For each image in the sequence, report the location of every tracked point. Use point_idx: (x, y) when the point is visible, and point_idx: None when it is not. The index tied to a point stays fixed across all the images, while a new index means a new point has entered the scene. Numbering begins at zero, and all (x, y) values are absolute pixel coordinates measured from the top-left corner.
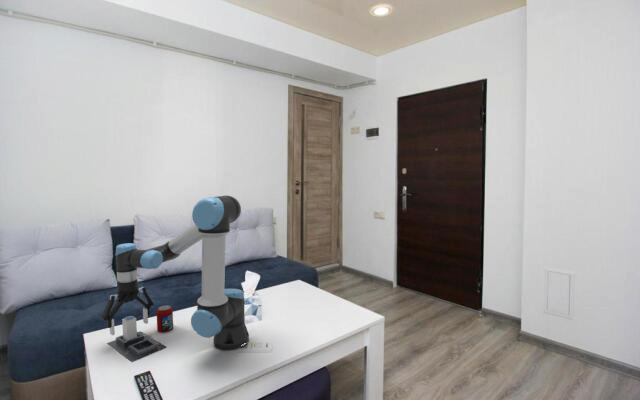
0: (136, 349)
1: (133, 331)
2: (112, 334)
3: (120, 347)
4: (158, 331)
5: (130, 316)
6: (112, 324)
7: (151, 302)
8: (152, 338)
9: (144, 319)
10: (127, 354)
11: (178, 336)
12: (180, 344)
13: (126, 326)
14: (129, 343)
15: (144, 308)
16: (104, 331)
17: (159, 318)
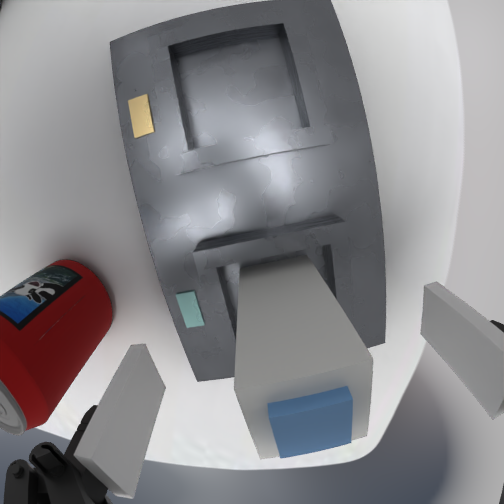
0: (294, 47)
1: (268, 298)
2: (440, 288)
3: (352, 237)
4: (101, 299)
5: (293, 443)
6: (498, 329)
7: (12, 493)
8: (145, 230)
9: (148, 391)
10: (338, 100)
11: (32, 199)
12: (49, 92)
13: (349, 323)
14: (304, 224)
15: (112, 484)
16: (325, 457)
17: (41, 335)
